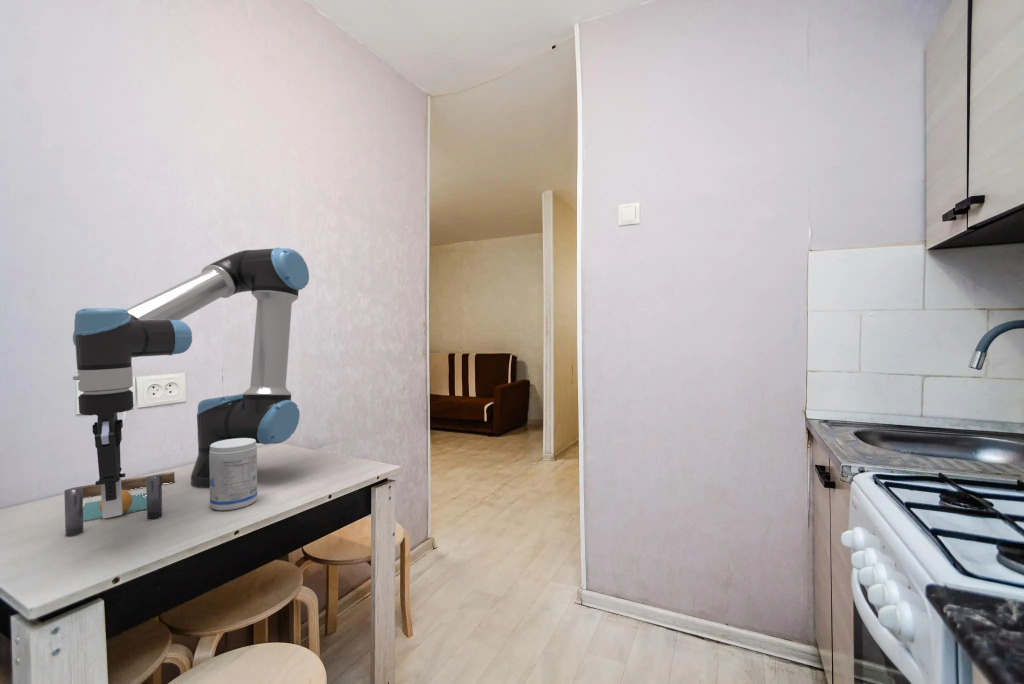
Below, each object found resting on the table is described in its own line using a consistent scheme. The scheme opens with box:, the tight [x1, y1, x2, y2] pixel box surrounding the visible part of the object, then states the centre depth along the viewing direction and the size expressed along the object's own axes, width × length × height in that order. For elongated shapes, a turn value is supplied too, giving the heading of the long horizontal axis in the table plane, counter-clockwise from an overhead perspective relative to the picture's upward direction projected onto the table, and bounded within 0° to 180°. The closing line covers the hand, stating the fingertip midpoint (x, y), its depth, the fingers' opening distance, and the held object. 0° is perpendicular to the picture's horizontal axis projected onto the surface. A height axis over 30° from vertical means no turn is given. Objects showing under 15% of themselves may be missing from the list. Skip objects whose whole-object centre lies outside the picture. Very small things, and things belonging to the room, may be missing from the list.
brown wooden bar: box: [73, 471, 176, 498], centre depth 115 cm, size 20×2×2 cm, turn 128°
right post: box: [145, 474, 163, 520], centre depth 97 cm, size 3×3×9 cm
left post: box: [63, 486, 84, 538], centre depth 89 cm, size 3×3×9 cm
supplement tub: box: [209, 438, 258, 512], centre depth 104 cm, size 10×10×15 cm
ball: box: [99, 490, 132, 513], centre depth 99 cm, size 6×6×6 cm
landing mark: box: [83, 492, 147, 523], centre depth 104 cm, size 14×14×1 cm
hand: (112, 515), depth 83 cm, fingers closed
